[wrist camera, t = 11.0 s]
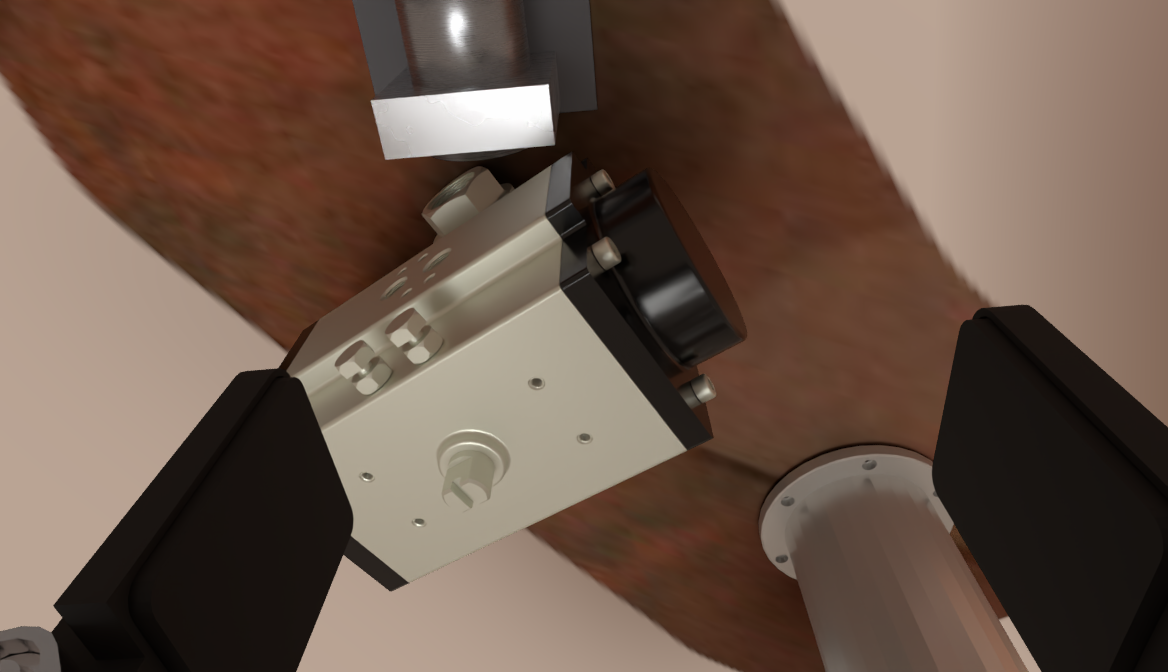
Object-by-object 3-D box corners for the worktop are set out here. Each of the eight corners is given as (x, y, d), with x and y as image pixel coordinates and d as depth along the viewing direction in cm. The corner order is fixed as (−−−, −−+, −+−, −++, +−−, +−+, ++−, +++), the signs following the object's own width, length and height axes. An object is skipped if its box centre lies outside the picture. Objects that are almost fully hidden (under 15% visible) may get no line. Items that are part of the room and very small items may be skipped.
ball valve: (612, 58, 31) (636, 212, 16) (703, 208, 34) (793, 447, 19) (323, 261, 36) (136, 518, 21) (429, 370, 40) (335, 655, 25)
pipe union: (561, 115, 32) (556, 160, 26) (423, 127, 32) (389, 174, 26) (537, -118, 27) (525, -123, 21) (375, -101, 27) (320, -101, 22)
